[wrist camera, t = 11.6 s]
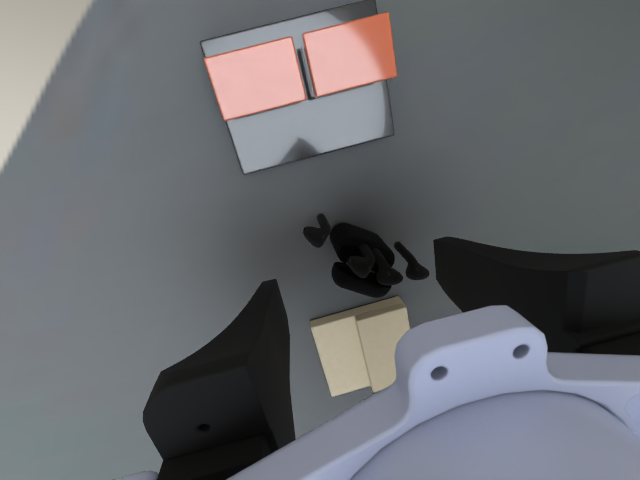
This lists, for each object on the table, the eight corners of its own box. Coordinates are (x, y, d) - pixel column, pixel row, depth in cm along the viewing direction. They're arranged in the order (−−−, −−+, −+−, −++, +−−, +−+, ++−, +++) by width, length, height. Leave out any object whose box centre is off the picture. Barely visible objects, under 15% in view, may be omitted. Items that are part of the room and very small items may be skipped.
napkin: (410, 364, 23) (418, 379, 22) (329, 388, 23) (333, 404, 22) (398, 295, 21) (406, 307, 20) (309, 320, 21) (311, 334, 20)
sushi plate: (389, 134, 17) (410, 137, 15) (244, 172, 17) (239, 182, 15) (370, 2, 15) (390, -21, 13) (202, 44, 15) (187, 29, 12)
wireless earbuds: (409, 242, 20) (451, 282, 15) (391, 277, 21) (426, 325, 16) (303, 203, 18) (313, 234, 13) (287, 243, 19) (291, 285, 14)
